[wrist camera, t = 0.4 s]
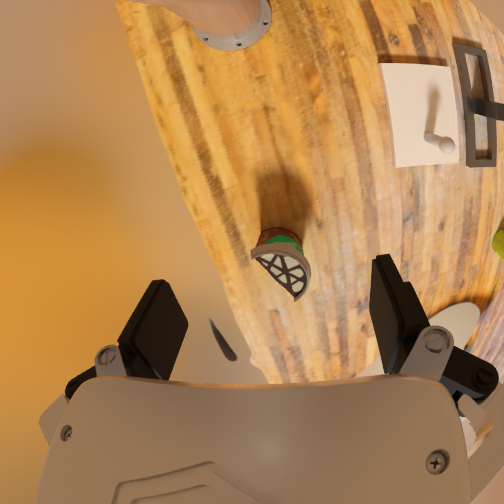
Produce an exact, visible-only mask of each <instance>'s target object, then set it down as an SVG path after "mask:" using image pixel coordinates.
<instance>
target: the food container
mask: <svg viewBox="0 0 504 504" xmlns="http://www.w3.org/2000/svg"><path fill="white" fill-rule="evenodd" d="M251 257H252V258H251V260H253V259H254V258H255V259H256V260H257V261H258V262H259V263H260V264H261V265H262V266H263V267H264V268H265V269H266V270H267V271H268V272H269V273H270V275H271V276H272V277H273V278H274V279H275V280H276V281H277V282H278V283H279V284H281V285H282V286H283V287H284V288H285V289H286V290H287V291H288V292H289V293H290V294H291V295H292V296H293V297H294V302H296V301H297V300H299V299H300V298H301V297H302V296H303V294H304V293H305V292H306V290H307V288H308V285H309V282H310V278H311V269H310V265H309V263H308V261H307V259H306V258H305V257H304V253H303V249H302V244H301V241H300V239H299V238H298V236H297V235H296V234H295V233H293V232H292V231H290V230H288V229H285V228H271V229H267V230H265V231H263V232H262V233H261V234H260V237H259V239H258V242H257V245H256V247H255V248H254V249H252V250H251Z"/></svg>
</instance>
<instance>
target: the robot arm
mask: <svg viewBox="0 0 504 504" xmlns="http://www.w3.org/2000/svg"><path fill="white" fill-rule="evenodd" d="M128 1H132V2H138V3H145V4H153V5H159V6H162V7H164V8H166V9H168V10H170V11H172V12H174V13H175V14H177V15H178V16H180V17H182V18H183V19H185V20H186V21H188V22H190V23H191V24H192V26H193V30H194V32H195V34H196V36H197V37H198V38H199V39H200V40H201V41H202V42H203V43H204V44H206V45H208V46H210V47H212V48H214V49H218V50H225V51H233V50H240V49H244V48H246V47H249V46H251V45H253V44H255V43H257V42H258V41H259V40H260V39H261V38H263V36H264V35H265V34H266V33H267V31H268V29H269V28H270V25H271V21H272V13H271V9H270V6H269V4H268V2H267V1H266V0H128ZM264 23H267V25H264ZM207 38H208V40H207V41H206V39H207ZM239 44H241V46H238V45H239ZM369 310H370V315H371V319H372V323H373V326H374V330H375V334H376V338H377V343H378V347H379V351H380V355H381V360H382V364H383V369H384V373H385V375H375V376H366V377H358V378H349V379H340V380H329V381H318V382H305V383H288V384H251V385H250V384H248V385H247V384H241V385H240V384H209V383H191V382H178V381H168V380H169V377H170V375H171V372H172V370H173V367H174V364H175V361H176V358H177V356H178V353H179V350H180V347H181V345H182V342H183V339H184V337H185V334H186V331H187V329H188V321H187V319H186V317H185V315H184V313H183V311H182V309H181V307H180V305H179V303H178V301H177V299H176V297H175V295H174V293H173V291H172V289H171V286H170V284H169V283H168V282H166V281H165V280H163V279H161V280H153V281H152V282H151V283H150V285H149V287H148V288H147V290H146V292H145V293H144V295H143V297H142V298H141V300H140V302H139V303H138V305H137V307H136V309H135V310H134V312H133V313H132V315H131V317H130V319H129V320H128V322H127V324H126V326H125V328H124V329H123V331H122V333H121V335H120V336H119V338H118V340H117V342H118V343H119V346H118V347H117V346H116V345H107V346H105V347H103V348H102V349H101V350H100V351H99V352H98V353H97V355H96V357H95V366H93V367H91V368H90V369H88V370H86V371H85V372H83V373H81V374H80V375H78V376H76V377H75V378H73V379H72V380H70V381H69V382H68V384H67V386H66V389H65V395H63V394H62V395H61V396H60V397H59V398H58V399H57V400H55V401H54V403H52V404H51V406H49V407H48V409H46V410H45V411H44V412H43V414H42V415H41V416H40V419H39V424H40V428H41V430H42V432H43V434H44V436H45V438H46V440H47V442H48V444H49V446H50V448H49V450H48V454H47V457H46V460H45V463H44V466H43V469H42V473H41V477H40V480H39V484H38V488H37V493H36V497H35V502H34V504H470V502H471V501H472V500H473V499H474V498H475V497H476V496H477V495H478V494H479V493H480V492H481V491H482V489H484V488H485V486H486V485H487V484H488V483H489V482H490V481H491V480H492V478H493V477H494V476H495V475H496V473H497V472H498V471H499V470H500V469H501V467H502V466H503V465H504V383H503V385H502V384H501V383H500V382H499V376H498V372H497V370H496V368H495V367H494V366H493V365H492V364H490V363H488V362H486V361H484V360H482V359H480V358H478V357H476V356H474V355H472V354H470V353H468V352H466V351H464V350H462V349H460V348H457V347H455V346H453V345H454V339H453V336H452V334H451V333H450V332H449V331H448V330H447V329H446V328H444V327H441V326H430V323H429V321H428V319H427V316H426V314H425V312H424V310H423V307H422V305H421V303H420V301H419V299H418V297H417V295H416V292H415V290H414V288H413V286H412V284H411V283H410V282H409V281H408V282H403V280H402V278H401V276H400V274H399V272H398V270H397V268H396V266H395V264H394V262H393V260H392V258H391V256H390V254H384V255H377V256H376V259H373V260H372V273H371V289H370V302H369ZM388 373H389V374H388ZM459 416H461V417H467V418H468V420H470V425H471V426H472V427H473V429H474V430H475V432H476V440H475V444H474V445H473V447H472V448H471V449H470V450H469V451H468V452H467V450H466V444H465V438H464V433H463V428H462V424H461V420H460V417H459ZM428 455H429V456H428ZM437 459H438V460H437ZM439 462H440V463H439ZM437 474H438V475H437Z"/></svg>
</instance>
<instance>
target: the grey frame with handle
mask: <svg viewBox="0 0 504 504" xmlns="http://www.w3.org/2000/svg"><path fill="white" fill-rule="evenodd" d="M452 45H453V49H454V54H455V58H456V63H457V68H458V73H459V78H460V85H461V91H462V99H463V108H464V118H465V134H466V165H467V166H468V167H496V157H497V136H496V120H501V121H504V104H502V103H498V102H494V94H493V87H492V80H491V74H490V69H489V63H488V59H487V54H486V50H483V49H479V48H475V47H471V46H466V45H462V44H457V43H456V44H452ZM464 53H465V54H470V55H475V56H478V59H479V64H480V69H481V75H482V81H483V87H484V95H485V100H484V99H477V98H472V92H471V85H470V79H469V73H468V68H467V63H466V58H465V54H464ZM474 114H479V115H483V116H486V117H487V132H488V157H481V158H476V147H475V122H474Z"/></svg>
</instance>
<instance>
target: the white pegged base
mask: <svg viewBox="0 0 504 504" xmlns="http://www.w3.org/2000/svg"><path fill="white" fill-rule="evenodd" d="M378 68H379V72H380V77H381V81H382V86H383V92H384V97H385V103H386V109H387V116H388V123H389V130H390V139H391V148H392V160H393V166H395V167H396V168H397V167H408V166H419V165H433V164H449V163H459V139H458V123H457V111H456V102H455V95H454V88H453V81H452V76H451V70H450V67H445V66H436V65H424V64H406V63H379V64H378Z"/></svg>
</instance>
